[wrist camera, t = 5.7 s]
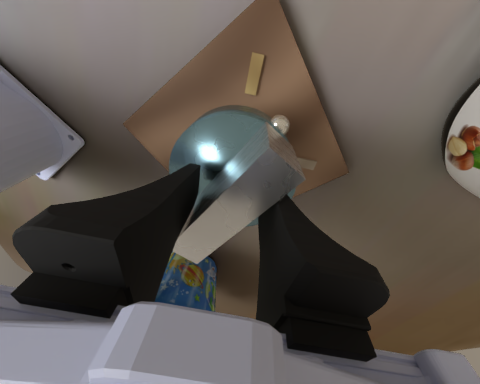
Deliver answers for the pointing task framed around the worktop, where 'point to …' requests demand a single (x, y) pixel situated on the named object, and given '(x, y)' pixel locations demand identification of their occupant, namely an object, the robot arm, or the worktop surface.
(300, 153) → the base plate
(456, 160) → the spread jar
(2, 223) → the worktop surface
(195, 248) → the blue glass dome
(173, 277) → the snack cup
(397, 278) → the worktop surface
